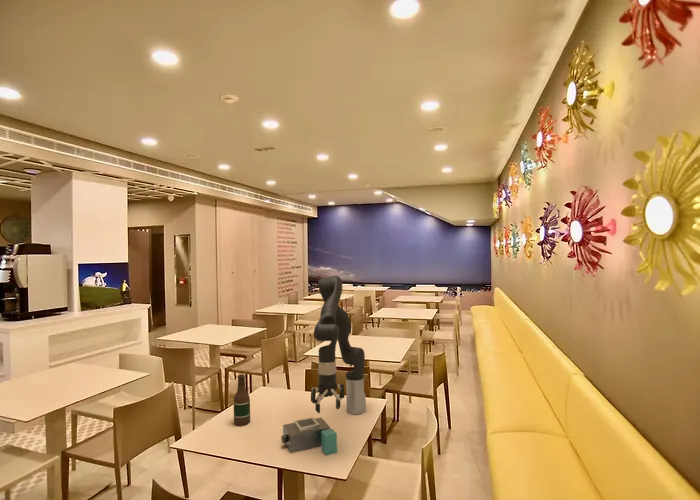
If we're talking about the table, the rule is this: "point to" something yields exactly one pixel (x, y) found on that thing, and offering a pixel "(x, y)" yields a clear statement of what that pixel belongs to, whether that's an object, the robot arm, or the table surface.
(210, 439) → the table surface
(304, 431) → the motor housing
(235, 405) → the beer bottle
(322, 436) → the block
